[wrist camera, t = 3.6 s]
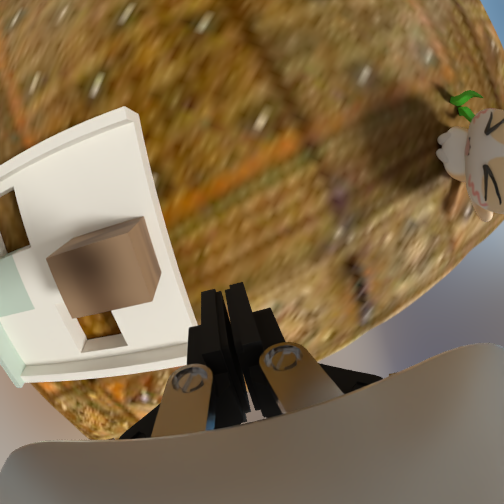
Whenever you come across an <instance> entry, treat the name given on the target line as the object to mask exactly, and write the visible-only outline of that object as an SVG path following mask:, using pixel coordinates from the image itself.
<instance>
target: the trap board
mask: <svg viewBox="0 0 504 504" xmlns="http://www.w3.org/2000/svg"><path fill="white" fill-rule="evenodd" d="M12 190H14V191H15V195H16V199H17V203H18V206H19V210H20V213H21V217H22V220H23V224H24V227H25V230H26V233H27V236H28V239H29V242H30V245H28V246H25V247H23V248H20V249H18V250H15V251H13V252H10V253H8V254H7V251H6V248H5V245H4V242H3V239H2V236H1V233H0V364H1V366H2V367H3V369H4V370H5V372H6V373H7V375H8V376H9V378H10V379H11V380H12V382H13V383H14V385H15V386H16V387H17V388H22V386H23V384H24V383H25V382H53V381H69V380H81V379H92V378H102V377H111V376H119V375H127V374H134V373H141V372H148V371H154V370H160V369H166V368H172V367H177V366H183V365H187V347H188V330H189V327H193V326H198V325H197V322H196V319H195V316H194V313H193V311H192V308H191V305H190V302H189V299H188V296H187V293H186V290H185V287H184V284H183V281H182V278H181V275H180V272H179V269H178V266H177V262H176V259H175V256H174V253H173V249H172V246H171V243H170V239H169V236H168V233H167V229H166V226H165V222H164V219H163V215H162V211H161V208H160V204H159V200H158V196H157V193H156V189H155V185H154V181H153V177H152V173H151V169H150V165H149V160H148V156H147V152H146V147H145V143H144V138H143V134H142V129H141V124H140V119H139V114H137V113H135V112H134V111H132V110H130V109H128V108H126V107H125V106H124V107H121V108H118V109H116V110H113V111H110V112H108V113H105V114H102V115H100V116H97V117H95V118H92V119H90V120H87V121H85V122H83V123H80V124H78V125H76V126H74V127H71V128H69V129H67V130H65V131H63V132H60V133H58V134H56V135H54V136H52V137H50V138H48V139H46V140H44V141H42V142H40V143H38V144H37V145H35V146H33V147H31V148H29V149H27V150H26V151H24V152H22V153H20V154H19V155H17V156H15V157H13V158H12V159H10V160H8V161H7V162H5V163H4V164H2V165H0V197H1V196H3V195H5V194H7V193H8V192H10V191H12ZM142 216H144V218H145V221H146V225H147V228H148V232H149V235H150V238H151V241H152V245H153V248H154V251H155V254H156V257H157V260H158V263H159V266H160V269H161V272H162V274H161V277H160V280H159V283H158V286H157V289H156V292H155V295H154V298H153V301H152V302H148V303H144V304H139V305H135V306H130V307H126V308H121V309H116V310H112V314H113V316H114V318H115V320H116V322H117V324H118V326H119V328H120V330H121V333H122V334H117V335H112V336H106V337H100V338H95V339H89V340H87V338H86V336H85V334H84V332H83V330H82V328H81V326H80V324H79V323H78V321H77V319H76V318H74V319H72V317H71V315H70V313H69V311H68V309H67V307H66V305H65V303H64V301H63V299H62V297H61V294H60V292H59V290H58V288H57V285H56V283H55V281H54V278H53V276H52V273H51V271H50V268H49V266H48V263H47V261H46V258H47V257H48V256H50V255H51V254H52V253H53V252H55V251H56V250H57V249H59V248H60V247H61V246H63V245H64V244H65V243H67V242H68V241H69V240H71V239H72V238H75V237H78V236H81V235H84V234H87V233H90V232H93V231H96V230H99V229H102V228H106V227H109V226H112V225H115V224H119V223H122V222H125V221H129V220H132V219H135V218H139V217H142Z"/></svg>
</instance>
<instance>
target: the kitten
mask: <svg viewBox="0 0 504 504" xmlns="http://www.w3.org/2000/svg"><path fill="white" fill-rule="evenodd" d="M472 97H480V98H483V97H482V96H481V95H479V94H478V93H476V92H475V91H471V90H469V91H465V92H464V93H462V94H460V95H458V96H455V97H451V99H450V103H452V104H453V105H455V106H457V107H458V106H461V105H463V104H464V103H465V102H467V101H468V100H469V99H470V98H472ZM457 109H458V111H459V116H464V117H465V118H466V119H467V120H468V121H469V122H471V123H470V126H469V129H466V128H463V127H459V126H456V127H452V128H450V129H449V130H448V132H447V133H443V134H441V135H440V136H439V137H438V139H437V141H438V143H439V144H440V145H442V149H438V150H437V151H436V155H437V157H438V158H439V159H440V160H441V161H442V162H443V164H444V167H445V169H446V171H447V173H448V174H449V175H450V176H451V177H452V178H454V179H456V180H459V181H461V182H466V188H467V192H468V195H469V197H470V200H471V202H472V204H473V207H474V210H475V212H476V214H477V216H478V217H479V218H480V219H481V220H482V221H484V222H488V221H490V220H491V219H492V216H493V212H495V213H500V214H504V110H500V109H493V108H489V109H484V110H481V111H479V112H478V113H477V114H476V115H474V114H473V113H472V111H471V110H470V109H469V108H468V107H459V108H457Z"/></svg>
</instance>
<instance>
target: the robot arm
mask: <svg viewBox="0 0 504 504" xmlns="http://www.w3.org/2000/svg"><path fill="white" fill-rule="evenodd" d="M225 293H226V299H227V305H228V311H229V317H230V320H229V317H228V313H227V310H226V306H225V303H224V300H223V296H222V293H221V291H219V292H216V290H215V289H212V290H208V291H204V292H201V325H198V326H193V327H189V330H188V347H187V365H186V366H183V367H181V368H179V369H177V370H176V371H174V372H173V373H172V374H171V375H170V377H169V379H168V381H167V384H166V387H165V391H164V394H163V397H162V400H161V403H160V404H159V405H158V406H157V407H155V408H154V409H153V410H152V411H151V412H149V413H148V414H147V415H146V416H144V417H143V418H142V419H141V420H140V421H138V422H137V423H136V424H135V425H133V426H132V427H131V428H130V429H128V430H127V431H126V432H125V433H124V434H123V435H122V436H121V437H120V438H119V440H115V439H114V438H112V439H108V440H49V441H41V442H35V443H32V444H28V445H25V446H22V447H20V448H18V449H16V450H15V451H13V452H12V453H11V454H10V455H9V457H8V458H7V460H6V462H5V464H4V465H3V467H2V470H1V472H0V504H504V347H502V346H499V345H496V344H492V343H478V344H471V345H466V346H461V347H458V348H454V349H452V350H448V351H445V352H443V353H440V354H438V355H436V356H433V357H431V358H428V359H426V360H424V361H422V362H420V363H418V364H416V365H413V366H411V367H409V368H407V369H404V370H402V371H400V372H397V373H392V374H389V377H387V378H384V379H383V378H381V377H379V376H376V375H371V374H367V373H361V372H356V371H352V370H346V369H342V368H337V367H333V366H328V365H324V364H319V363H317V361H316V360H315V359H314V358H313V357H312V356H311V354H310V353H309V352H308V351H307V350H306V348H304V347H303V346H302V345H300V344H297V343H293V342H285V340H284V337H283V335H282V333H281V331H280V328H279V326H278V324H277V321H276V319H275V317H274V315H273V312H272V310H271V308H267V309H263V310H259V311H256V312H252V310H251V307H250V304H249V300H248V297H247V294H246V291H245V287H244V284H243V282H241V283H237V284H233V285H230V289H227V290H225ZM230 323H231V324H230ZM243 375H244V376H243ZM244 378H245V381H246V384H247V387H248V390H249V393H250V396H251V399H252V402H253V405H254V408H255V410H261V412H262V415H263V416H264V417H266V419H262V420H258V421H254V422H249V423H245V424H241V423H243V422H247V419H246V414H245V413H248V412H251V410H250V405H249V400H248V395H247V391H246V386H245V381H244Z"/></svg>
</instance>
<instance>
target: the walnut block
mask: <svg viewBox="0 0 504 504" xmlns="http://www.w3.org/2000/svg"><path fill="white" fill-rule="evenodd" d="M46 261H47V263H48V266H49V268H50V271H51V273H52V276H53V278H54V281H55V283H56V285H57V288H58V290H59V292H60V294H61V297H62V299H63V301H64V303H65V305H66V307H67V309H68V311H69V313H70V315H71V317H72V319H74V318H79V317H83V316H88V315H93V314H98V313H102V312H107V311H112V310H116V309H121V308H126V307H130V306H135V305H139V304H144V303H148V302H152V301H153V298H154V295H155V292H156V289H157V286H158V283H159V280H160V277H161V274H162V272H161V269H160V266H159V263H158V260H157V257H156V254H155V251H154V248H153V245H152V241H151V238H150V235H149V232H148V228H147V225H146V221H145V218H144V216H142V217H139V218H135V219H132V220H129V221H125V222H122V223H119V224H115V225H112V226H109V227H106V228H102V229H99V230H96V231H93V232H90V233H87V234H84V235H81V236H78V237H75V238H72V239H71V240H69V241H68V242H67V243H65V244H64V245H63V246H61V247H60V248H59V249H57V250H56V251H55V252H53V253H52V254H51V255H50V256H48V257H47V258H46Z"/></svg>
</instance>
